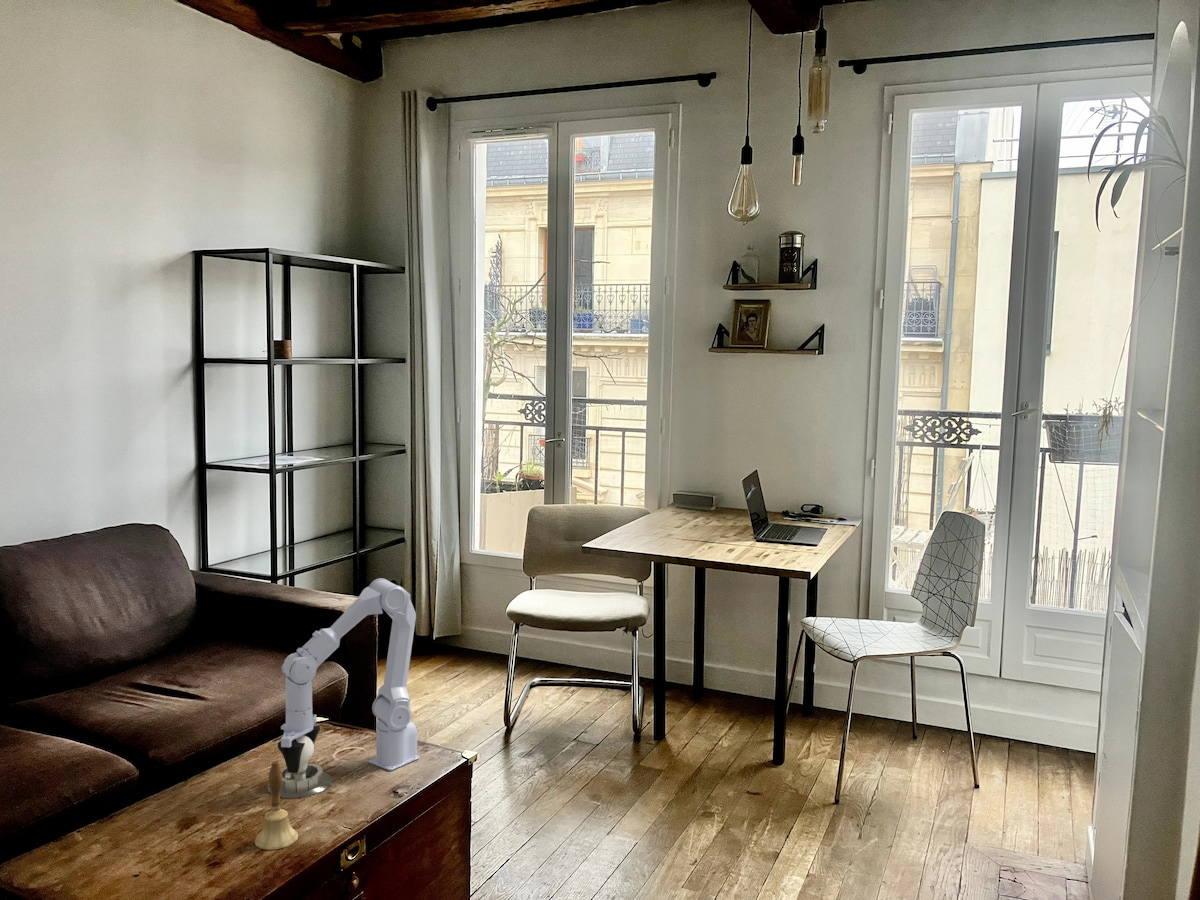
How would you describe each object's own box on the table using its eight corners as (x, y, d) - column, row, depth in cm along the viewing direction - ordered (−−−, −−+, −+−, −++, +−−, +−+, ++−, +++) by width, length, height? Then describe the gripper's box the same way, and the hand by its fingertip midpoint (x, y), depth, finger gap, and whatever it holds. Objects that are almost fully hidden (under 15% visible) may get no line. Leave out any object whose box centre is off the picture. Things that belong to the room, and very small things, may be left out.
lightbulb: (320, 778, 214) (319, 732, 213) (304, 791, 208) (304, 743, 207) (295, 775, 216) (294, 729, 215) (279, 787, 210) (278, 739, 209)
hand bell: (245, 841, 186) (244, 764, 185) (280, 825, 193) (280, 750, 192) (272, 854, 182) (271, 775, 180) (307, 837, 189) (306, 760, 187)
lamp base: (306, 765, 222) (306, 754, 222) (344, 782, 214) (344, 770, 213) (254, 786, 210) (253, 774, 210) (292, 804, 202) (292, 792, 202)
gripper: (295, 695, 218) (296, 751, 219) (267, 718, 204) (268, 778, 205) (324, 696, 217) (325, 753, 219) (298, 720, 203) (299, 780, 204)
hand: (299, 765), depth 212 cm, fingers closed on lightbulb, 6 cm apart
